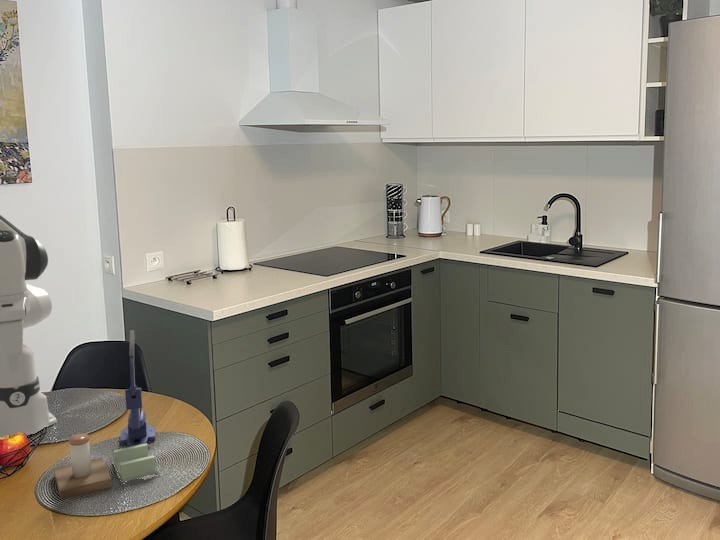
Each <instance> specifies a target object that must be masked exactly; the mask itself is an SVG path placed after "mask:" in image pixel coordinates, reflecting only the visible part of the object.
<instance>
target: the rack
mask: <svg viewBox="0 0 720 540" xmlns="http://www.w3.org/2000/svg"><path fill="white" fill-rule="evenodd" d="M148 455H149V444H148V445H147V443H145V444H141V445H136V446H132V447H128V446H126V447H123V448H119V449H118V448H117V449H114V450H113V461H114V465H115V467H116V469H117V471H118V474H119V476H120V478H121V480H122V482H125V481H129V480H133V479H137V478H141V477H144V476H147V475H153V474H157V471H158V469H157V468H156V467H157V466H156V465H157V464H156V456H155V455H149V456H148ZM156 469H157V470H156Z"/></svg>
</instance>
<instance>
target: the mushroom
mask: <svg viewBox="0 0 720 540" xmlns="http://www.w3.org/2000/svg"><path fill="white" fill-rule="evenodd" d="M68 444H69V451H70V452H69V455H70V462H71V463H70V464H71V465H72V475H73V477H75V478H82V477H86V476H88V475H90V474H91V473H92V469H91V460H92V457H91V448H90V435H89V434H87V433H76V434H73V435H72V436H69V438H68Z"/></svg>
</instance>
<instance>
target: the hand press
mask: <svg viewBox="0 0 720 540" xmlns="http://www.w3.org/2000/svg"><path fill="white" fill-rule="evenodd" d="M135 335H136V334H135V330H129V349H128V351H129V352H128V353H129V355H128V356H129V373H130V374H129V376H130V377H129V378H130V379H129V380H130V386H129V388H125V389H124V390H125V391H124V395H125V406H126V410H129V411H130V412H129V413H128V416H127V426H126V427H125V428H123V430H121V432H120V445H121V446H124V445H127V447H132V446H136V445H141V444H145V443H147V445H148V446H149V445H151V442H154V441H156V429H155V426H153V425H152V424H149V423H147V414H146V412H145V411H143V410H142V408H143V396H142V393H143V391H142V387H138V386H137V385H136V380H135V379H136V378H135V377H136V375H135ZM148 441H149V442H148ZM123 444H124V445H123Z"/></svg>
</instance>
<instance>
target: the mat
mask: <svg viewBox="0 0 720 540" xmlns="http://www.w3.org/2000/svg"><path fill="white" fill-rule="evenodd" d="M156 470H157V474H155V475H158V476H154V477H152V478H151V479H149V478H148V479H146V480H144V479H142V478H141V479H139V478H138V479H133V480H129V481H127V482H121V481H122V480H121V479H120V478H119V479H118V481H119V483H120V486H121V487H122V488H123V487H126V486H131V485H135V484H137V483H138V484H139V483H142V482H145V481H146V482H147V481H150V480H154V479H159V478H161V477H162V476H161V474H160V473H159V471H158V469H157V468H156ZM120 480H121V481H120ZM123 483H125V484H123Z"/></svg>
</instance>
